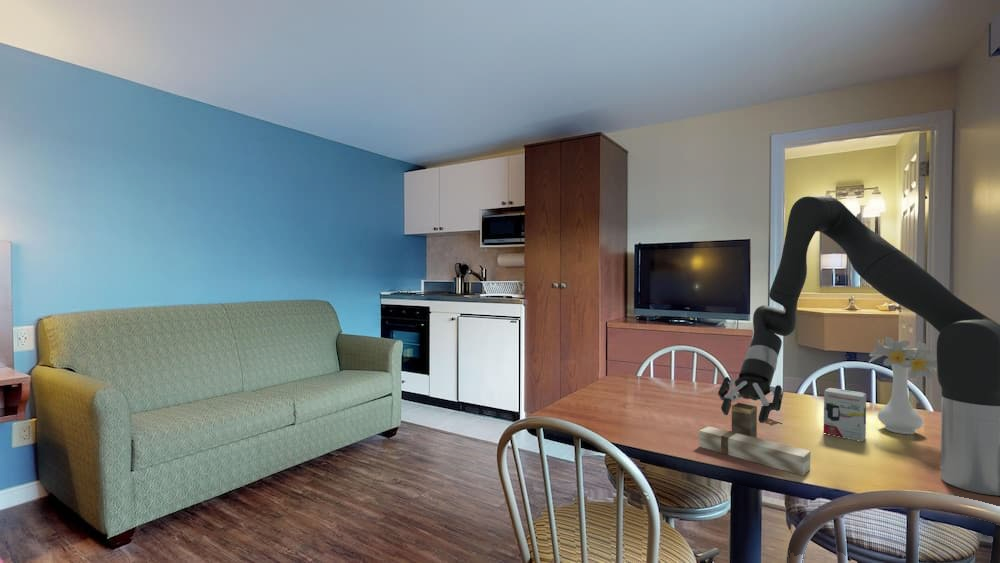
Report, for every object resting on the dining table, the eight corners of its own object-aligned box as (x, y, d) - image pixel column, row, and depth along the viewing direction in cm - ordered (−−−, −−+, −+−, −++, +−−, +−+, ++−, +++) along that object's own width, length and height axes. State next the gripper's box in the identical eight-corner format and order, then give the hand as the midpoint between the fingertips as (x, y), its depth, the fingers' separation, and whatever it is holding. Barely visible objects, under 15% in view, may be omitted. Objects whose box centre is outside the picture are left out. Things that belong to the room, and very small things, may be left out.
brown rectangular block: (756, 441, 115) (756, 406, 115) (750, 445, 112) (750, 409, 112) (738, 437, 118) (738, 402, 118) (731, 441, 115) (731, 405, 115)
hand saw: (711, 404, 151) (711, 402, 151) (723, 403, 152) (723, 401, 152) (770, 427, 128) (770, 424, 128) (784, 425, 129) (784, 423, 129)
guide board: (810, 469, 98) (810, 450, 98) (803, 476, 95) (803, 456, 95) (708, 441, 115) (708, 425, 115) (699, 446, 111) (699, 430, 111)
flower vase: (904, 443, 114) (905, 344, 114) (854, 420, 133) (855, 335, 132) (960, 445, 113) (961, 345, 113) (902, 421, 131) (902, 335, 131)
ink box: (822, 434, 121) (822, 390, 121) (826, 429, 124) (826, 387, 124) (863, 442, 115) (863, 396, 115) (866, 437, 118) (866, 392, 118)
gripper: (727, 354, 125) (709, 402, 118) (786, 361, 115) (770, 415, 107) (734, 370, 129) (717, 419, 121) (792, 379, 118) (777, 432, 111)
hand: (742, 417), depth 114 cm, fingers open, 8 cm apart
